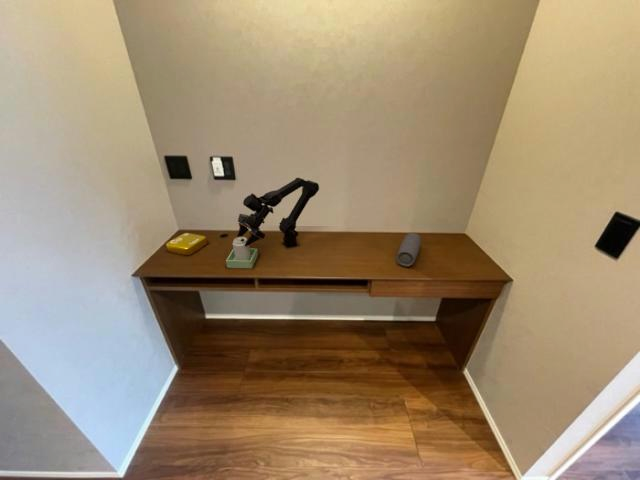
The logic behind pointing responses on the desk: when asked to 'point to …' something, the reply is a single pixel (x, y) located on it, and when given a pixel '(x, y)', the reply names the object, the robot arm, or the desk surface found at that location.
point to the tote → (241, 264)
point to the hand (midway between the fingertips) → (241, 242)
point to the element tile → (186, 244)
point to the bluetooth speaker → (409, 249)
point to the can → (241, 249)
